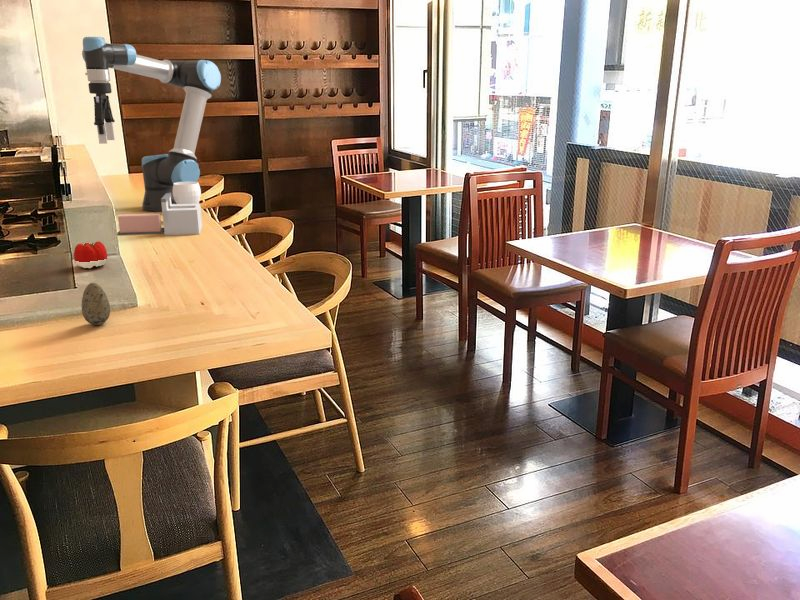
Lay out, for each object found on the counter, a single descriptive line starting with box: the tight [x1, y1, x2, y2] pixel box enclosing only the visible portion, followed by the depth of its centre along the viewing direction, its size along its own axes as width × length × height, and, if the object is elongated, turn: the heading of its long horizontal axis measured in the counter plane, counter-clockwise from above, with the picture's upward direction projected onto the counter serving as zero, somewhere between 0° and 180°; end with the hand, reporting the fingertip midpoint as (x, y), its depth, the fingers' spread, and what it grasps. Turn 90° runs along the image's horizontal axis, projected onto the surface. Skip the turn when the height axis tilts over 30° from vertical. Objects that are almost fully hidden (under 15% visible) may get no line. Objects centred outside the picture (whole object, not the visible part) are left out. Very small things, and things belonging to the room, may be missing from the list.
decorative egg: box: [81, 282, 111, 326], centre depth 155 cm, size 6×6×10 cm
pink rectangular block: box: [117, 212, 163, 233], centre depth 248 cm, size 4×14×6 cm, turn 101°
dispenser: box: [161, 193, 203, 236], centre depth 250 cm, size 13×12×13 cm
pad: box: [117, 226, 165, 236], centre depth 250 cm, size 8×16×1 cm, turn 101°
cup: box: [173, 181, 202, 204], centre depth 267 cm, size 11×11×15 cm
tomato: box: [73, 240, 108, 262], centre depth 202 cm, size 9×9×8 cm
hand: (107, 141), depth 253 cm, fingers open, 13 cm apart
